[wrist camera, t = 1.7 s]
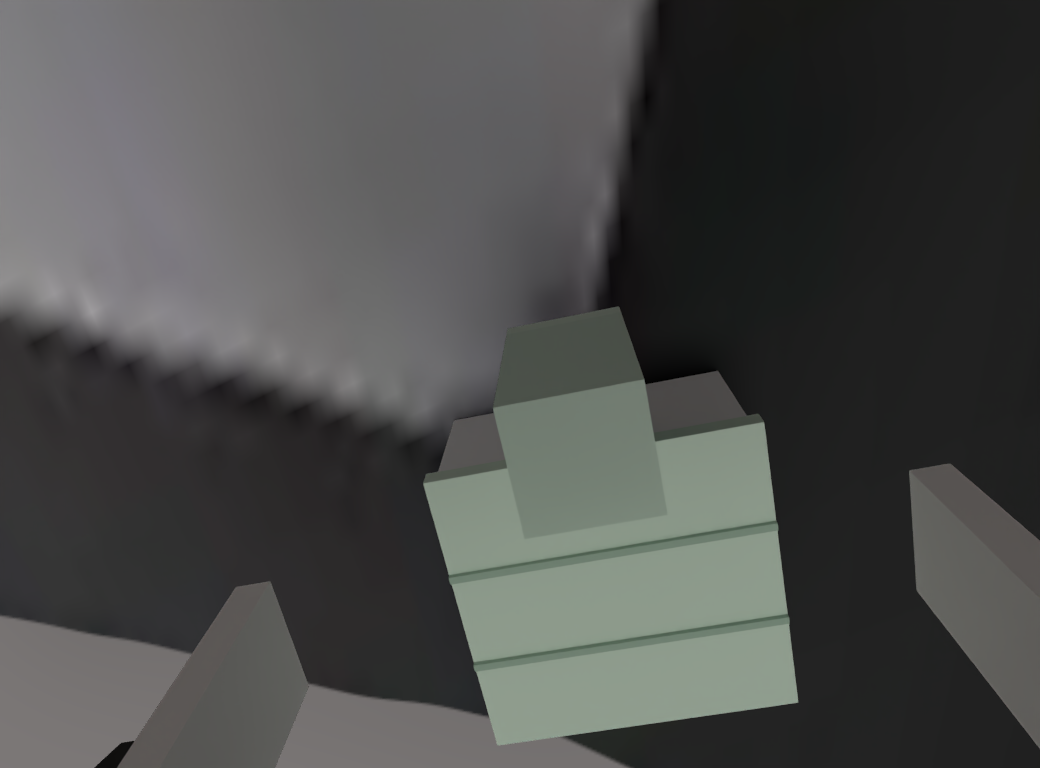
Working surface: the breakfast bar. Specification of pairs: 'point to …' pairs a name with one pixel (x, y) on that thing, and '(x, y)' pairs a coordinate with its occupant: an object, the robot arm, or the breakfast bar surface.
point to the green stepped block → (612, 548)
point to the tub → (667, 404)
